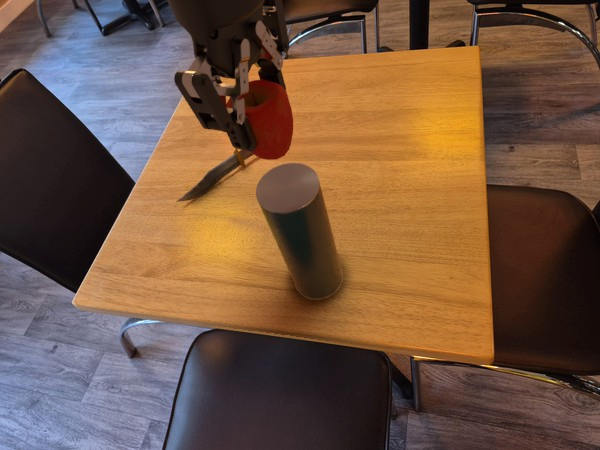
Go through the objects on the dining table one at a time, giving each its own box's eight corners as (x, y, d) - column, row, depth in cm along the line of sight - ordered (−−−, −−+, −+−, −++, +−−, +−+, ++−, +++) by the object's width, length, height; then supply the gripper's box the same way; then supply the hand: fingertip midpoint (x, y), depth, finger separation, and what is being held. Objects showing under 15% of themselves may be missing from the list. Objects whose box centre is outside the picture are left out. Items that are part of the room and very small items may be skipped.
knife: (182, 211, 83) (171, 194, 79) (179, 207, 84) (168, 190, 80) (286, 142, 88) (280, 123, 84) (282, 139, 89) (276, 120, 85)
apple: (238, 141, 48) (215, 85, 42) (291, 122, 49) (274, 63, 43) (252, 179, 44) (228, 123, 39) (308, 158, 45) (293, 98, 39)
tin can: (332, 306, 65) (303, 219, 48) (286, 291, 68) (244, 204, 51) (350, 263, 69) (329, 168, 52) (306, 251, 72) (273, 157, 55)
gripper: (208, -101, 35) (263, 76, 49) (96, -6, 29) (195, 169, 42) (290, -107, 32) (325, 82, 46) (187, -4, 26) (263, 184, 39)
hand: (263, 123), depth 44 cm, fingers closed on apple, 6 cm apart
